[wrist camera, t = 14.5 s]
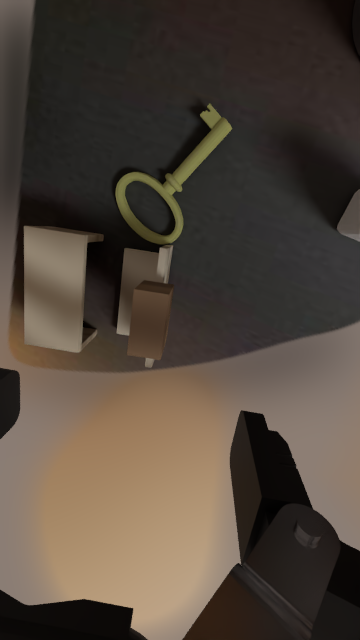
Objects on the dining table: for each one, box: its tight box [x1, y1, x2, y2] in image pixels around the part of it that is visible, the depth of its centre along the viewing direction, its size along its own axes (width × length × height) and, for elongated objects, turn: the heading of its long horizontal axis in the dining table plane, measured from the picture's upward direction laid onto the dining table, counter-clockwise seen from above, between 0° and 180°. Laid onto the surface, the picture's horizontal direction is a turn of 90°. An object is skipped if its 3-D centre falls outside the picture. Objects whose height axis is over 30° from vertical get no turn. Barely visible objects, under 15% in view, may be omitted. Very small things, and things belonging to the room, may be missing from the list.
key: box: [116, 104, 232, 245], centre depth 27 cm, size 7×12×2 cm, turn 152°
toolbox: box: [24, 226, 104, 353], centre depth 28 cm, size 10×5×5 cm, turn 172°
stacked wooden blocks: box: [117, 245, 174, 368], centre depth 26 cm, size 10×5×9 cm, turn 172°
